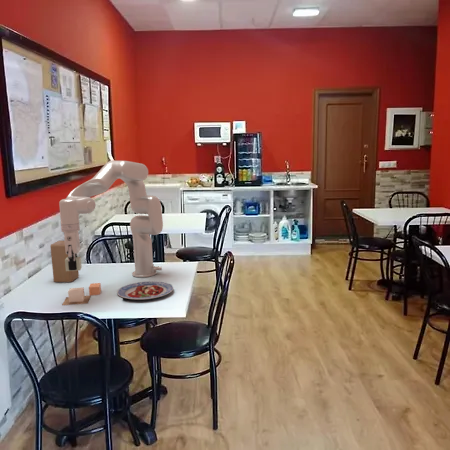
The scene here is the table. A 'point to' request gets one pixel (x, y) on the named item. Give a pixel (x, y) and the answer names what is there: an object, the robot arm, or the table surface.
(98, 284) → the terracotta brick
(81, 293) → the cream base brick
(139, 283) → the ceramic plate
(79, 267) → the sage green brick
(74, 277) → the wooden block
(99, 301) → the table surface
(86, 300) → the walnut board
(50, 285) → the table surface
